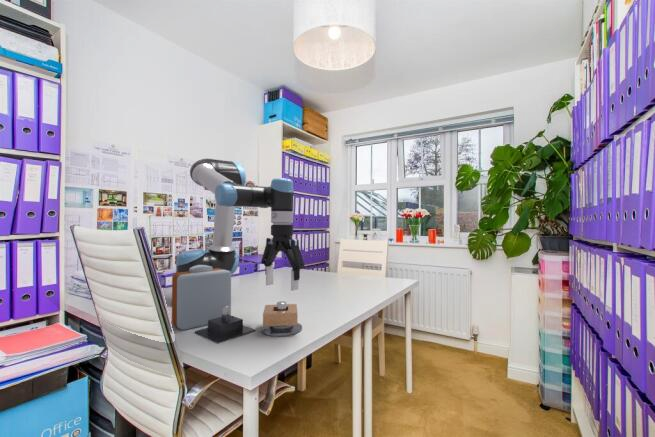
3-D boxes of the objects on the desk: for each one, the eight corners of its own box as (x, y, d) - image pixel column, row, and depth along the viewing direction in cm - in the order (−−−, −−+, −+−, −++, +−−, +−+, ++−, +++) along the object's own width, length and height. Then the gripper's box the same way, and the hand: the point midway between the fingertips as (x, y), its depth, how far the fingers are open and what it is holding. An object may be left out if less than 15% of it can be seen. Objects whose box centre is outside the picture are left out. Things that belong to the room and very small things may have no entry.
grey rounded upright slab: (221, 314, 123) (221, 262, 123) (231, 319, 117) (232, 264, 117) (171, 325, 110) (171, 267, 110) (180, 331, 104) (180, 269, 104)
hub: (252, 329, 106) (252, 303, 106) (283, 319, 116) (283, 295, 117) (279, 339, 97) (279, 310, 97) (310, 328, 108) (310, 301, 108)
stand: (194, 332, 103) (194, 306, 103) (231, 322, 113) (231, 298, 114) (217, 343, 94) (217, 315, 94) (255, 331, 104) (255, 305, 105)
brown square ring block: (265, 316, 111) (265, 304, 111) (296, 315, 112) (296, 303, 112) (262, 326, 100) (263, 314, 100) (297, 325, 101) (297, 312, 102)
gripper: (251, 223, 112) (250, 284, 112) (299, 224, 96) (299, 294, 96) (267, 223, 118) (267, 281, 117) (315, 224, 102) (315, 290, 102)
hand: (281, 287), depth 107 cm, fingers open, 12 cm apart
